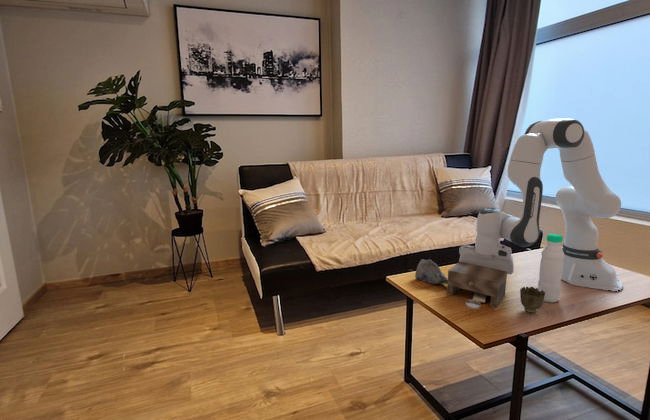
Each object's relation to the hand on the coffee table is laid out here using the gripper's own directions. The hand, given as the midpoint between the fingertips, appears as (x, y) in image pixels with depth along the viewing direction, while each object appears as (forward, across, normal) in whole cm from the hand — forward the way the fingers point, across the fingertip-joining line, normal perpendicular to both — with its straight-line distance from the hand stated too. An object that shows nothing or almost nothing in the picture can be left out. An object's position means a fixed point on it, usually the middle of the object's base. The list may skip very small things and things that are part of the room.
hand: (484, 280), depth 141 cm
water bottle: (+3, +22, -2) cm, 22 cm away
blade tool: (+2, 0, -6) cm, 7 cm away
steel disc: (+3, -2, -20) cm, 20 cm away
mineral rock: (+3, -20, -6) cm, 21 cm away
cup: (+3, +16, -16) cm, 23 cm away
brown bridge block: (+3, -2, -10) cm, 11 cm away
